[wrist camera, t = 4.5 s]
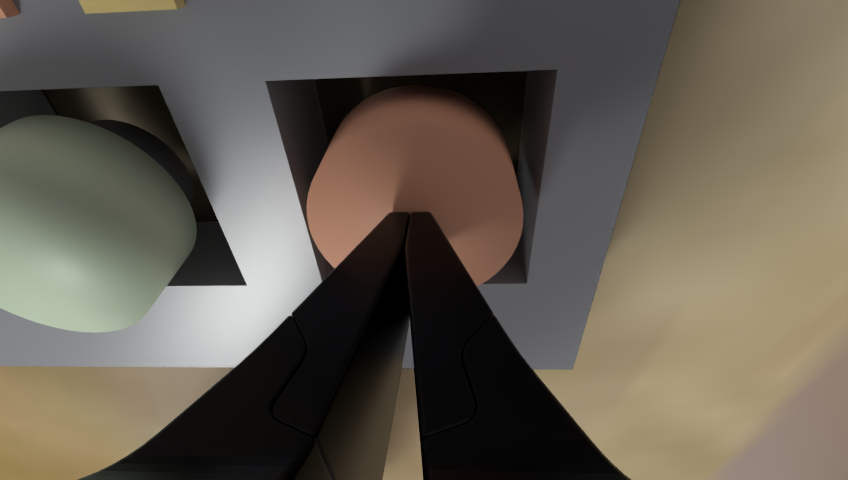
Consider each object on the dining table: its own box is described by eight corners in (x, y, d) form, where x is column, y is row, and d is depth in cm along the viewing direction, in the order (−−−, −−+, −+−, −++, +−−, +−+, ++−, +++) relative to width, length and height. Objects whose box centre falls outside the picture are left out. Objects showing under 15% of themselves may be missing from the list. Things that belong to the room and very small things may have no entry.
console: (553, 299, 16) (574, 378, 13) (-48, 301, 17) (-136, 372, 15) (658, -211, 7) (771, -270, 5) (-510, -118, 9) (-896, -126, 6)
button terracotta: (499, 215, 12) (513, 299, 10) (353, 217, 13) (329, 300, 10) (511, 60, 10) (535, 120, 7) (324, 68, 10) (281, 128, 7)
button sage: (242, 239, 12) (186, 332, 10) (99, 241, 13) (6, 332, 10) (179, 87, 9) (76, 159, 7) (-3, 93, 10) (-169, 166, 7)
